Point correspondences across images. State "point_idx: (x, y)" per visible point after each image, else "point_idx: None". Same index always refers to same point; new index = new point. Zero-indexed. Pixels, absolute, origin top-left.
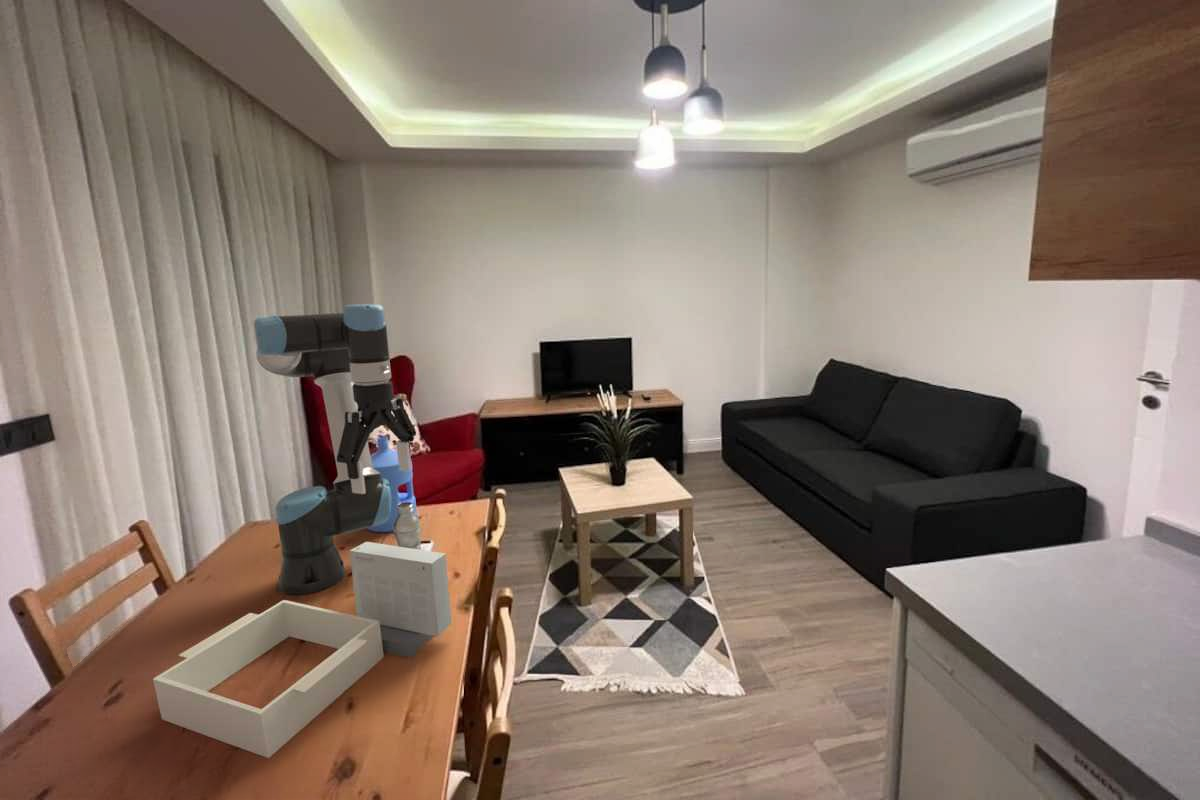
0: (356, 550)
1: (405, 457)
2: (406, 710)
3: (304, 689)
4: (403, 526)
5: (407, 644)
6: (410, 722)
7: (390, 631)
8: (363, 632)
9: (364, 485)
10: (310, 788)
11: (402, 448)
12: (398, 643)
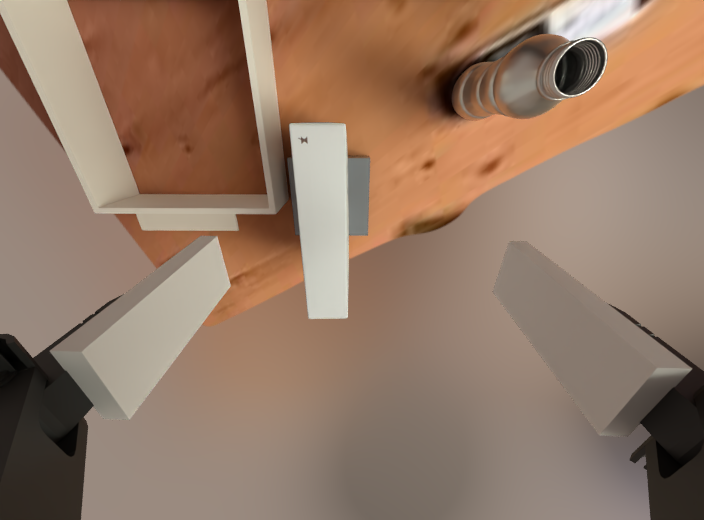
0: (295, 143)
1: (534, 328)
2: (243, 271)
3: (144, 227)
4: (505, 95)
5: (296, 234)
6: (235, 282)
7: None
8: (247, 213)
9: (211, 307)
10: (149, 256)
11: (582, 362)
12: (294, 221)
